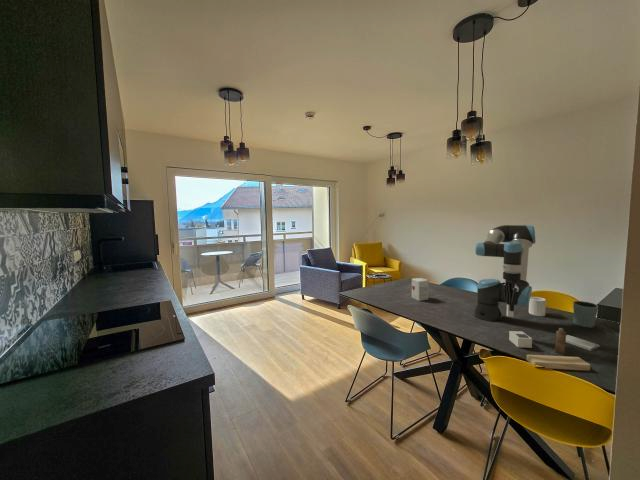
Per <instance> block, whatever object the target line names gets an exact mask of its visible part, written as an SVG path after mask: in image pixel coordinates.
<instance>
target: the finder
mask: <svg viewBox="0 0 640 480" xmlns="http://www.w3.org/2000/svg"><path fill="white" fill-rule="evenodd" d="M508 332H509V333H508V334H509V335H508V339H509V341H510V342H511V343H512V344H513V345H515V346H516V347H517V348H526V349H527V348H529V349H532V348H533V338H532V337H531V336H529V335H527V334H526V333H525V332H524V331H521V330H520V331H518V330H515V331H514V330H509V331H508Z"/></svg>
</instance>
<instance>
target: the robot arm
mask: <svg viewBox="0 0 640 480" xmlns="http://www.w3.org/2000/svg"><path fill="white" fill-rule="evenodd" d="M534 244H536V231H535V226H533V225H531V224H530V225H527V224H524V225H521V224H517V225H516V224H514V225H511V224H509V225H508V224H506V225H505V224H504V225H499V226H496V227H494V228H492V229H490V231H489V232H488V233H487V237H486V238H485V239H484V241H483V242H477V243H476V244H475V247H474V248H475V249H474V250H475V255H477V257H479V256H480V257H489V258H490V257H491V258H492V257H493V258H503V265H502V270H503V272H502V279H503V280H504V281H503V282H501V281H500V279H496V278H484V279H481V280H479V281H478V282H477V286H476V289H477V290H476V291H477V292H476V293H477V295H476V296H477V297H476V299H477V301H476V305H475V307H474V308H473V309H474V310H473V316H474V317H476V318H478V319H481V320H484V321H489V322H499V321H501V320H502V319H503V313H502V310H501V308H500V303H501V304H502V303H503V304H506V317H509V318H514V317H515V306H524V307H526V306H529V301H530V298H531V297H532V292H533V286H531V285H530V283H529V281H528V280H527V276H528V275H527V274H528V265H529V264H528V263H529V254H530V251H529V250H530V248H532V247H533V245H534Z"/></svg>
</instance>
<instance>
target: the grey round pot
mask: <svg viewBox="0 0 640 480" xmlns="http://www.w3.org/2000/svg"><path fill="white" fill-rule="evenodd" d="M572 304H573V305H572V308H573V313H572V314H573V316H572V317H573V318H572V319H573V320H572V321H573V324H575V325H576V326H578V327H584V328H594V327H595V325H596V319H597V314H598V310H599V305H598V304H596V303H593V302H589V301H583V300H575V301H574V300H573V303H572Z"/></svg>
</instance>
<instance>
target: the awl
mask: <svg viewBox="0 0 640 480" xmlns="http://www.w3.org/2000/svg"><path fill="white" fill-rule="evenodd" d="M566 335H567V332H566V331H564V328H562V327H559V328H558V329H557V330H556V331H555V343H554V345H555V347H554V353H556V354H557V355H559V356H565V354H566V344H567V342H566Z"/></svg>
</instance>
